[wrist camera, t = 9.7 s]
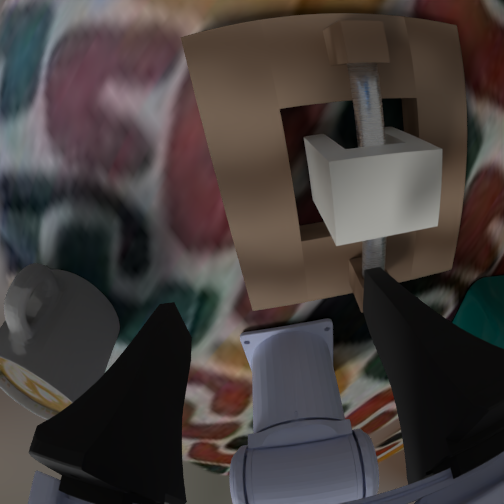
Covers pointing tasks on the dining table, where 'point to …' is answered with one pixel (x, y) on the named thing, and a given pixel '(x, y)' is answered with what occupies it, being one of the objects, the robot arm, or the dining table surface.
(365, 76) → the hook bar
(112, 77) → the dining table surface
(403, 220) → the grey u-slotted block
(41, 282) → the coffee mug
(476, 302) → the teal bottle
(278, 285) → the shelf
